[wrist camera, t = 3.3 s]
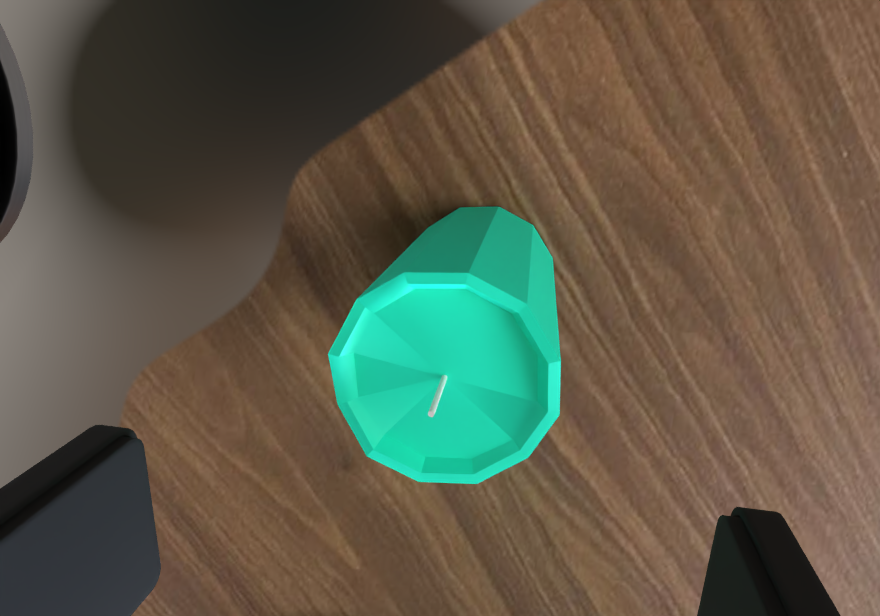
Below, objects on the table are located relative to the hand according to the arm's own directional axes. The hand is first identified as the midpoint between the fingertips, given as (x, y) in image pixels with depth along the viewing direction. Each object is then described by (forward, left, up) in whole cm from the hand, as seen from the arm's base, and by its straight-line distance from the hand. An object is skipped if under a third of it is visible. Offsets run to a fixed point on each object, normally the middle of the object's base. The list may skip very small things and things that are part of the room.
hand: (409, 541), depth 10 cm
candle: (0, 0, -16) cm, 16 cm away
